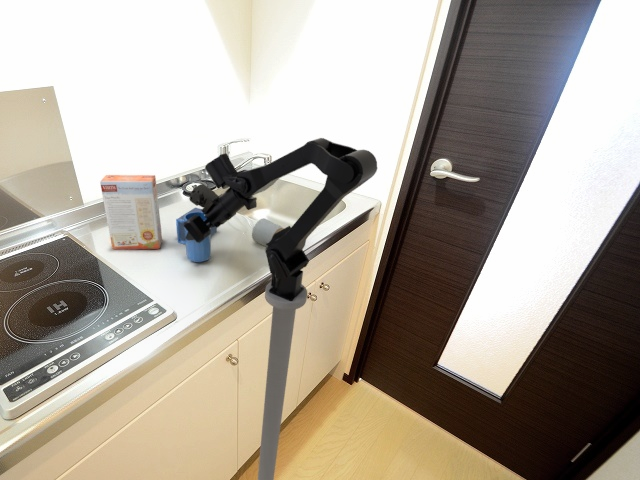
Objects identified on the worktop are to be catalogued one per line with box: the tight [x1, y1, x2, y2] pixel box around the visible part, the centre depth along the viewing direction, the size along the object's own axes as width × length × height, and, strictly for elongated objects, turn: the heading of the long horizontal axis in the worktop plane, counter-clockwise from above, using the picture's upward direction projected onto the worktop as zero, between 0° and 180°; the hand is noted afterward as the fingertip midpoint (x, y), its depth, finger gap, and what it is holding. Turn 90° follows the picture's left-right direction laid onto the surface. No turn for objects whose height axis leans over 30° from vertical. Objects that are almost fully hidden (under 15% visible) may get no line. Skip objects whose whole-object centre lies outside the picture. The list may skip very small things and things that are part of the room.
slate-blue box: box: [177, 207, 218, 241], centre depth 112 cm, size 15×8×7 cm, turn 154°
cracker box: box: [99, 174, 163, 250], centre depth 105 cm, size 14×6×21 cm, turn 92°
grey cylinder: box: [251, 217, 285, 248], centre depth 111 cm, size 11×8×8 cm
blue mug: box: [175, 212, 212, 263], centre depth 101 cm, size 10×7×12 cm, turn 64°
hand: (193, 233), depth 101 cm, fingers closed on blue mug, 7 cm apart
